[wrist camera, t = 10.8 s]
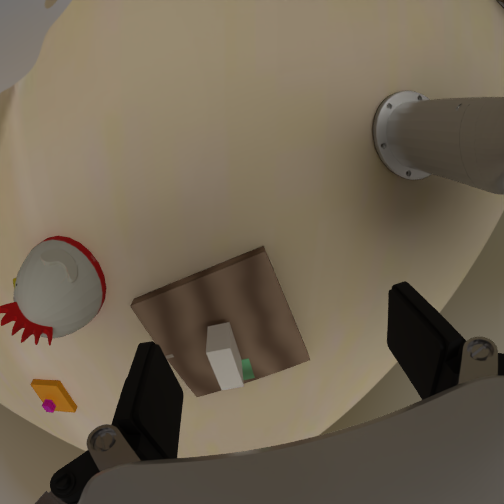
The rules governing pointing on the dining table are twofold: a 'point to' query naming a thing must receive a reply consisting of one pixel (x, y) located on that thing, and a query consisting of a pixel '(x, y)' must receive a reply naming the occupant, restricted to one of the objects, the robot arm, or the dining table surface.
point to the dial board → (224, 320)
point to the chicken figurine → (55, 290)
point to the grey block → (224, 356)
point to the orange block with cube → (53, 395)
